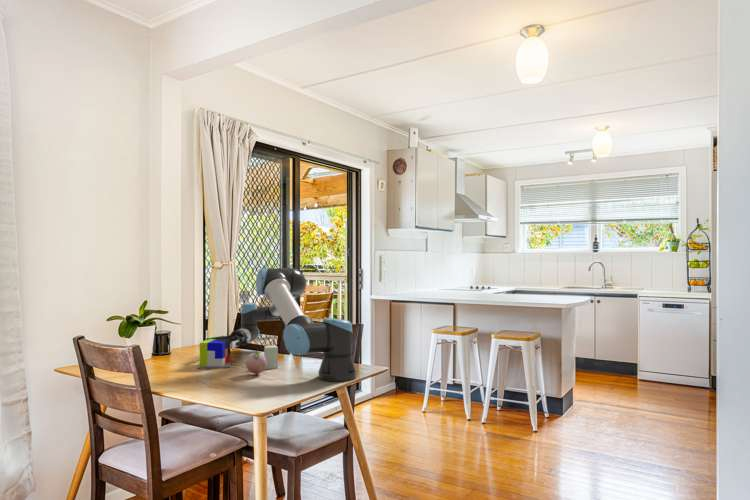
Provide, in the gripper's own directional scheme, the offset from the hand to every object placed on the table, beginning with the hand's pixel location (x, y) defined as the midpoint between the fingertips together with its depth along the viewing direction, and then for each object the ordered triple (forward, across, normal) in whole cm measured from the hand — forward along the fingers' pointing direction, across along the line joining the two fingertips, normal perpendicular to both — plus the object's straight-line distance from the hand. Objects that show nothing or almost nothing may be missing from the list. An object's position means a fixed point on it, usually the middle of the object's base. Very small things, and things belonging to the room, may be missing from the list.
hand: (217, 344), depth 227 cm
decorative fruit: (+16, -26, -9) cm, 31 cm away
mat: (+3, 0, -8) cm, 9 cm away
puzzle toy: (+3, 0, -8) cm, 9 cm away
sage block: (+1, -26, -8) cm, 27 cm away
